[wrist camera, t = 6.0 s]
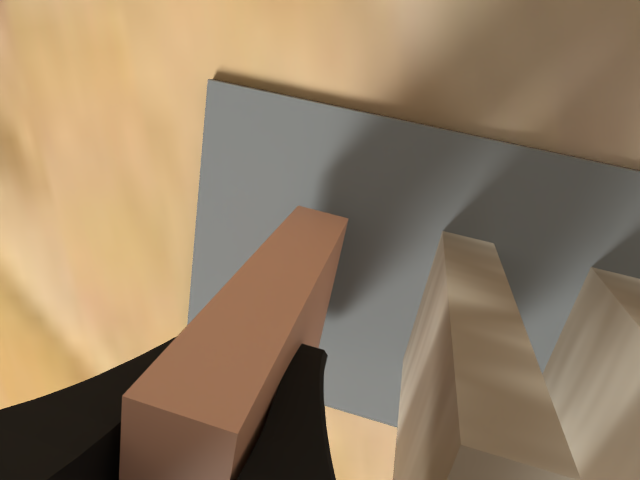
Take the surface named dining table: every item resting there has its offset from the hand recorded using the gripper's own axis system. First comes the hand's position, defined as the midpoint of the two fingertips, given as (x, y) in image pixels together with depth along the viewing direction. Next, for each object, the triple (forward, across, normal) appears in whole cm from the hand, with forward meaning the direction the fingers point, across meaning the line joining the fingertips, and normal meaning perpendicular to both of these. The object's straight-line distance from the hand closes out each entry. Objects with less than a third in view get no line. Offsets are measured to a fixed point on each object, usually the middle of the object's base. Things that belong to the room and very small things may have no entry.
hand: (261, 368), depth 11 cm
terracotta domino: (+5, 0, 0) cm, 5 cm away
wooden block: (+6, -4, 0) cm, 7 cm away
